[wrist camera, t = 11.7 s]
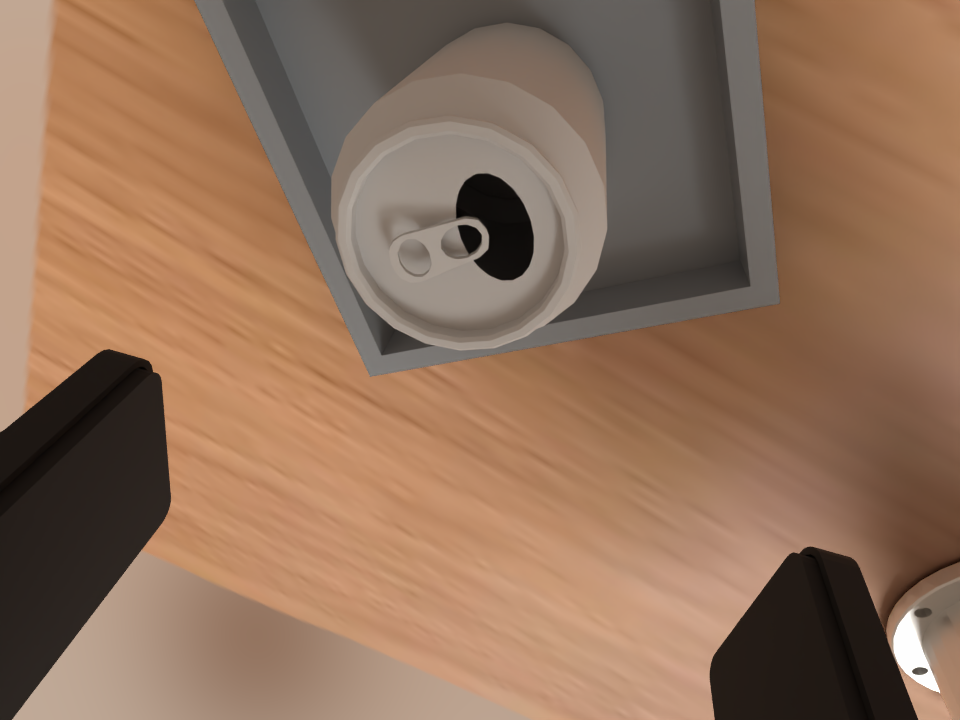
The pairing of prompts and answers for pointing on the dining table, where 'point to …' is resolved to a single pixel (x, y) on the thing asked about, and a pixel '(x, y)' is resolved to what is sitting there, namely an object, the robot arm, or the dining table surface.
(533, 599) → the dining table surface
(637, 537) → the dining table surface
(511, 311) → the can
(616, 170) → the parts tray
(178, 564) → the dining table surface
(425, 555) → the dining table surface
